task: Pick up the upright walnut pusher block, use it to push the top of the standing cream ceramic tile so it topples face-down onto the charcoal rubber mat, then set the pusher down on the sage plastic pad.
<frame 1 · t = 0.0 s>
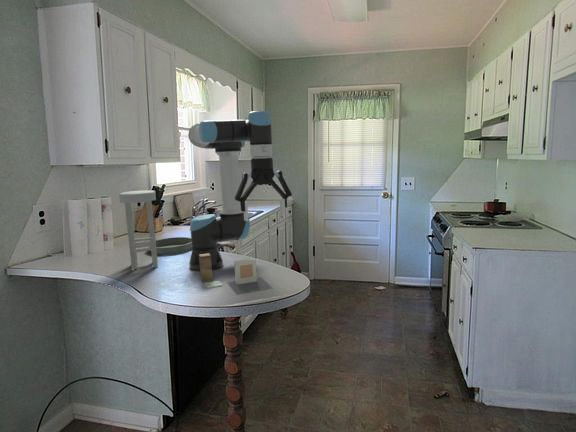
hand: (264, 218, 145), 28 cm above the counter, fingers open, 13 cm apart
cake pan: (171, 250, 226), on the counter
stool: (145, 266, 196), on the counter
tile: (246, 282, 163), point 1 cm above the counter, touching mat
rest pad: (213, 286, 162), on the counter
pusher: (206, 281, 169), on the counter
kitchen cleaver: (224, 244, 234), on the counter
mat: (249, 286, 159), on the counter
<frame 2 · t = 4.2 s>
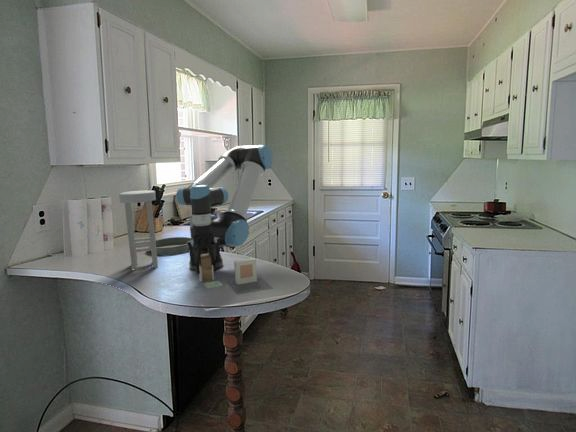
hand: (206, 280, 169), 0 cm above the counter, fingers closed on pusher, 4 cm apart
pusher: (206, 281, 169), on the counter, touching gripper
everything else where it was.
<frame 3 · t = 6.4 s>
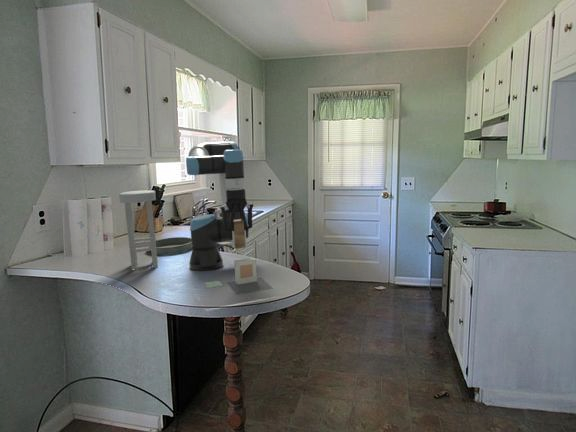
hand: (239, 246, 168), 14 cm above the counter, fingers closed on pusher, 4 cm apart
pusher: (239, 247, 168), point 13 cm above the counter, touching gripper
everything else where it was.
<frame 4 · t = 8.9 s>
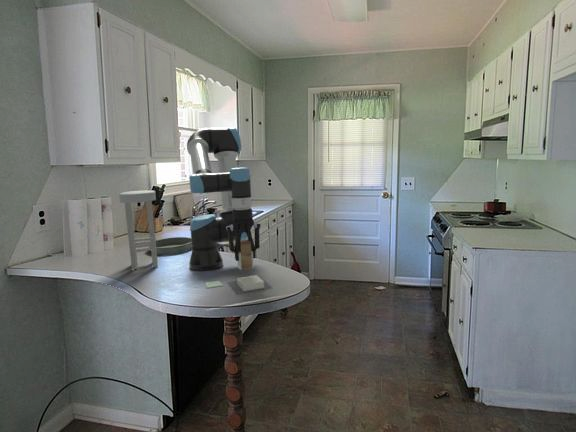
hand: (245, 267, 162), 7 cm above the counter, fingers closed on pusher, 4 cm apart
tile: (247, 279, 162), point 2 cm above the counter, tilted 90°, touching mat
pusher: (245, 268, 162), point 6 cm above the counter, touching gripper
everything else where it was.
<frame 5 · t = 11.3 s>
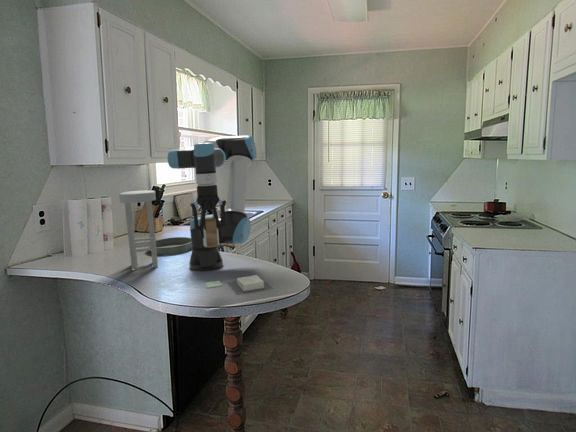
hand: (211, 245, 159), 16 cm above the counter, fingers closed on pusher, 4 cm apart
pusher: (211, 246, 159), point 16 cm above the counter, touching gripper
everything else where it was.
when the fingers open (3 cm above the counter, at t = 13.7 s): pusher drops 1 cm, resting on rest pad.
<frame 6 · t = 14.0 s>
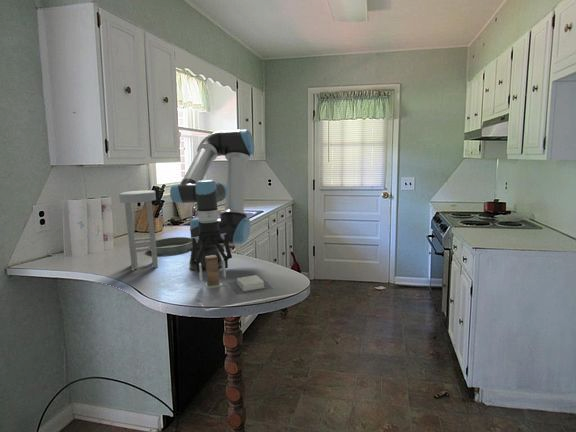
hand: (212, 278, 161), 3 cm above the counter, fingers open, 8 cm apart
pusher: (213, 283, 162), point 1 cm above the counter, touching rest pad
everything else where it was.
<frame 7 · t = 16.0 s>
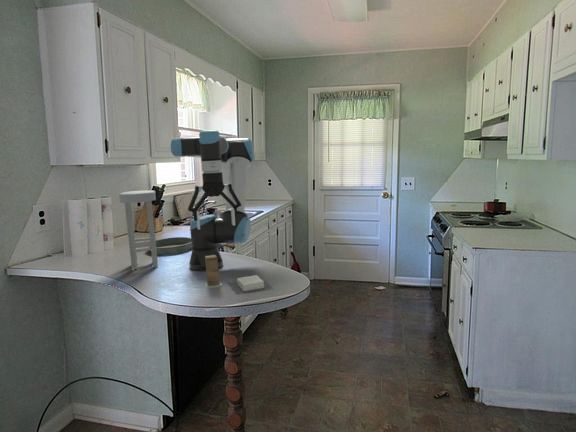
hand: (216, 226, 161), 23 cm above the counter, fingers open, 13 cm apart
nothing on the counter moved.
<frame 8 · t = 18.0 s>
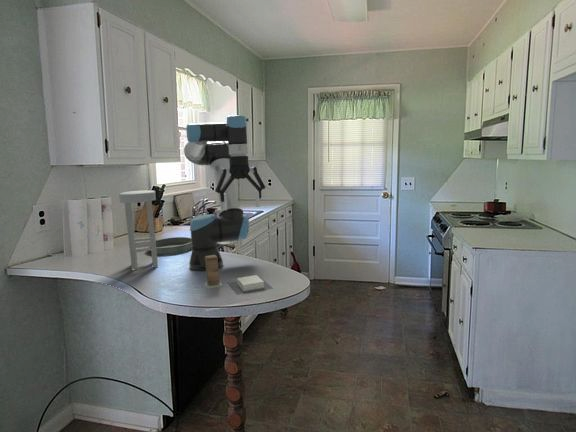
hand: (241, 208, 168), 29 cm above the counter, fingers open, 13 cm apart
nothing on the counter moved.
at the end: tile tilted 90°; tile inside the target area (5.2 cm from its centre), point 1.9 cm above the counter; pusher 0.0 cm from the rest pad (horizontally) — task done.
